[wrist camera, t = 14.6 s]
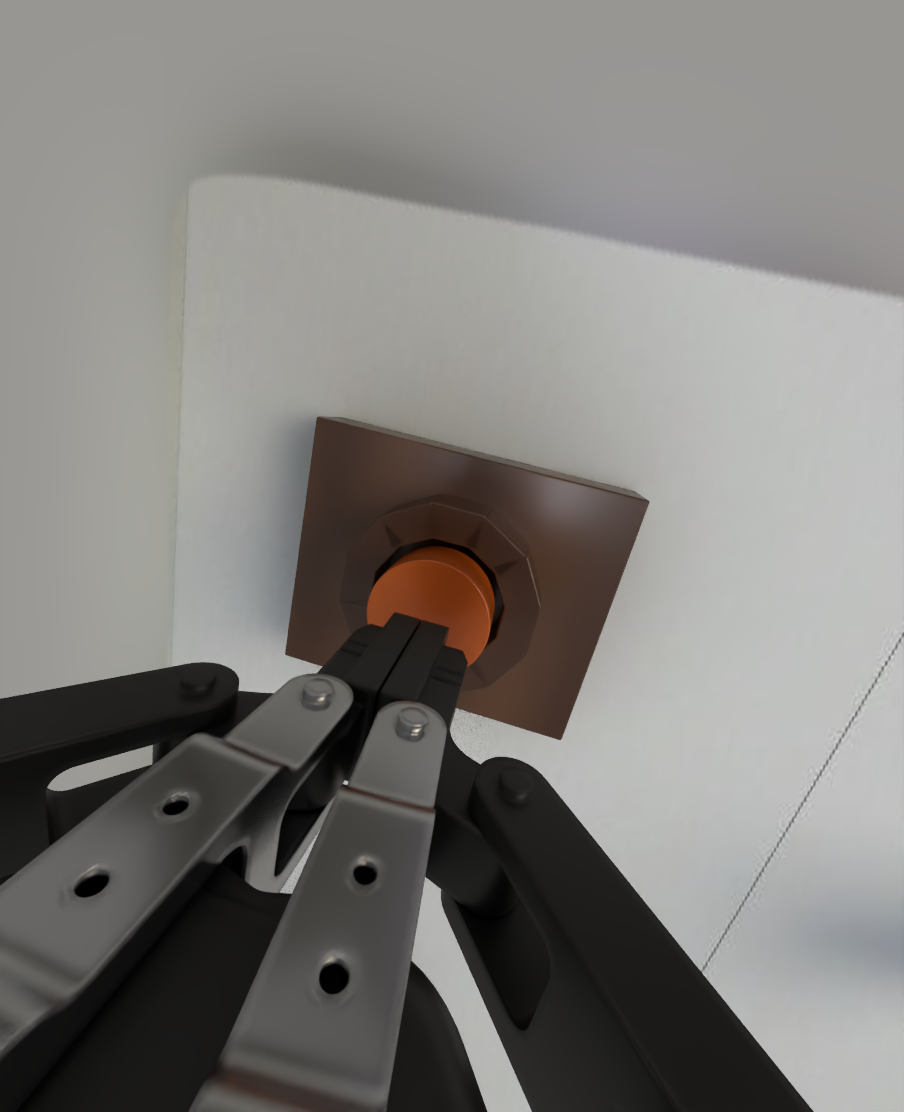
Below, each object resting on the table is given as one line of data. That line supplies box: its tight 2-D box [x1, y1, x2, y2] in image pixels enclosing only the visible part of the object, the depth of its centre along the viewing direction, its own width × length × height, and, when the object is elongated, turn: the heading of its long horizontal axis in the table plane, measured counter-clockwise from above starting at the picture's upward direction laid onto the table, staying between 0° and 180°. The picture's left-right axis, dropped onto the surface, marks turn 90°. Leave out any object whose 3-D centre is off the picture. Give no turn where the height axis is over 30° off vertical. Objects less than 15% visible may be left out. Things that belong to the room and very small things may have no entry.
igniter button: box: [367, 546, 495, 667], centre depth 15 cm, size 4×4×2 cm
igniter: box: [285, 417, 649, 740], centre depth 18 cm, size 12×10×4 cm
